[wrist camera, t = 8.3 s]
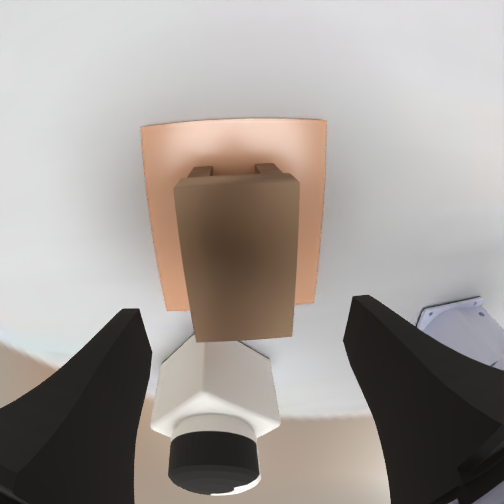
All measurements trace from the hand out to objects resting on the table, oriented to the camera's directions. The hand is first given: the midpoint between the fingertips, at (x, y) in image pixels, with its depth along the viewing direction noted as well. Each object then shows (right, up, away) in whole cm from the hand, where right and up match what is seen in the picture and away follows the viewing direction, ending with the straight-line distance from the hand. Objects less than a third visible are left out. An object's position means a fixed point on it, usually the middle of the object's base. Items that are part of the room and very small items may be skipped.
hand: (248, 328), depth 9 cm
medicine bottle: (-3, -7, +15) cm, 17 cm away
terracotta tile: (-1, +5, +9) cm, 10 cm away
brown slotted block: (-1, +4, +9) cm, 10 cm away
